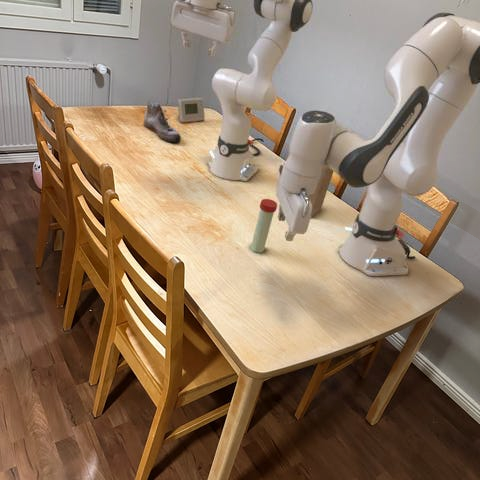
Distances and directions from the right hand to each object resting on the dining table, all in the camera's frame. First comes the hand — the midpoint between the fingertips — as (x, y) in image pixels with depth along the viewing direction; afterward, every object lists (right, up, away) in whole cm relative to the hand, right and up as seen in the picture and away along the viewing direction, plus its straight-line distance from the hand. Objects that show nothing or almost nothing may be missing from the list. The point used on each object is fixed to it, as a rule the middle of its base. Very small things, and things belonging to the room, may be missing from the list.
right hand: (284, 229), depth 112 cm
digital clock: (-37, +58, +112) cm, 131 cm away
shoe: (-47, +46, +89) cm, 111 cm away
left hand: (-24, +53, +19) cm, 61 cm away
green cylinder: (-6, -5, +24) cm, 26 cm away
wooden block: (+13, +9, +54) cm, 56 cm away
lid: (-3, +8, +16) cm, 18 cm away
